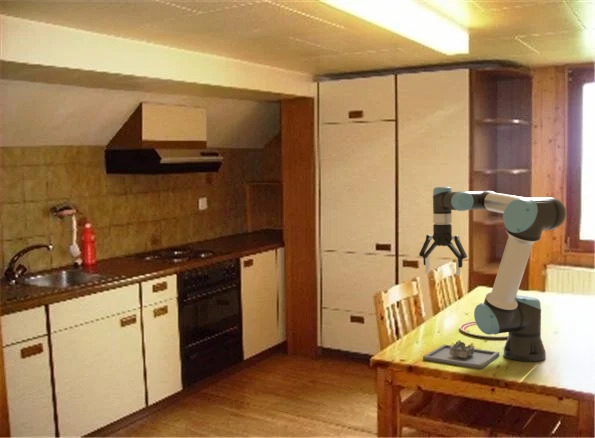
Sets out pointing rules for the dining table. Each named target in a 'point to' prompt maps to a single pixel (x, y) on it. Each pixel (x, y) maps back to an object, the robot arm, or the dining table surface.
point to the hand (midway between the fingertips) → (442, 274)
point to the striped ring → (463, 328)
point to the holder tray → (472, 361)
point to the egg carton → (461, 349)
